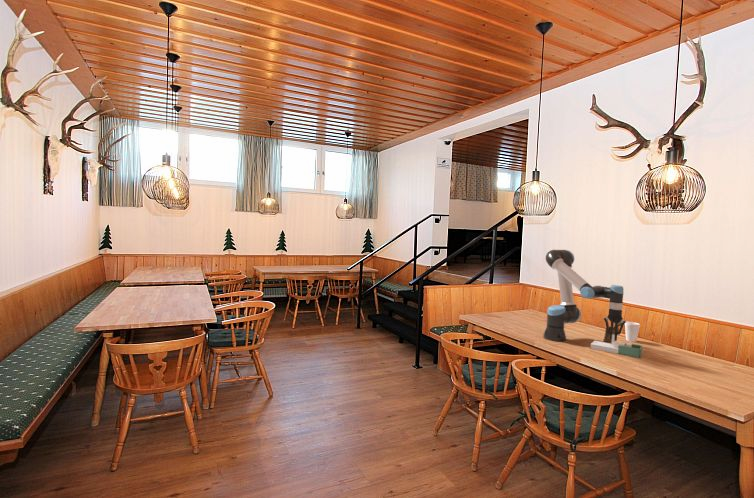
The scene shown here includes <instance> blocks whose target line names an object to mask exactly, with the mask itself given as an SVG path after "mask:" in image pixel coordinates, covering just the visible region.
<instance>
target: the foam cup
mask: <svg viewBox="0 0 754 498" xmlns="http://www.w3.org/2000/svg"><path fill="white" fill-rule="evenodd" d="M640 328H641V324H640V323H638V322H634V321H626V323H625V324H624V329H625V330H624V331H625V340H626V342H630V343H633V342H634V343H636V342H637V339H638V335H639V332H640Z"/></svg>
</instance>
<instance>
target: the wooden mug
mask: <svg viewBox="0 0 754 498" xmlns="http://www.w3.org/2000/svg"><path fill="white" fill-rule="evenodd" d="M621 324H622V320H621V321H620V322H619V323H618V332H619V329H620V327H621ZM609 329H610V330H611V326H609ZM604 331H605V332H604V336H603V337H604V338H603V341H602V342H605V343H610V344H612V339H610V333H608V332H607V328H605V330H604ZM613 334H615V325H613ZM615 341H618V339H617V340H615Z"/></svg>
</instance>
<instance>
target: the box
mask: <svg viewBox="0 0 754 498" xmlns="http://www.w3.org/2000/svg"><path fill="white" fill-rule="evenodd" d="M622 342H623V343H626V342H624V341H622ZM643 347H644V346H643V345H640V344H636V343H635V344H634V343H632V348H631V347H626V346H620V345H619V347H618V354H617V355H623V356H627V357H632V358H637V359H640V358H641V357H642V355H643Z"/></svg>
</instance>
